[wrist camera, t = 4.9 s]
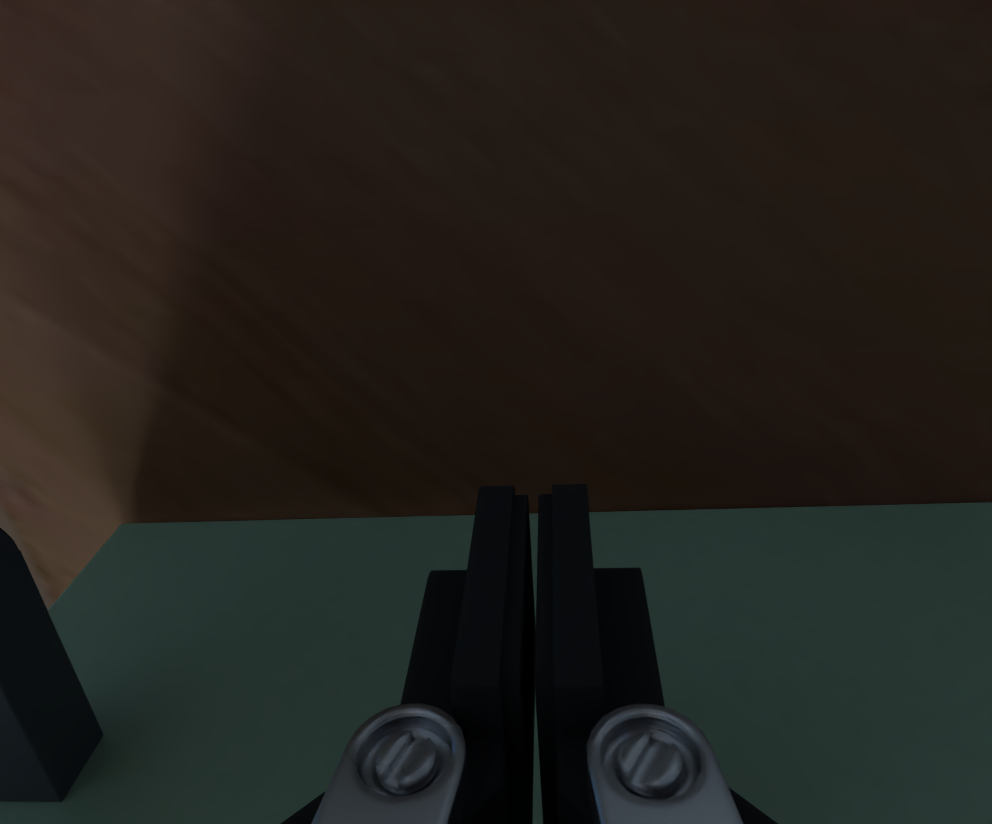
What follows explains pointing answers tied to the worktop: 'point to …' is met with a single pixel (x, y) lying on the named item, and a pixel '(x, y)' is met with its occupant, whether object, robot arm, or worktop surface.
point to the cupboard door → (615, 544)
